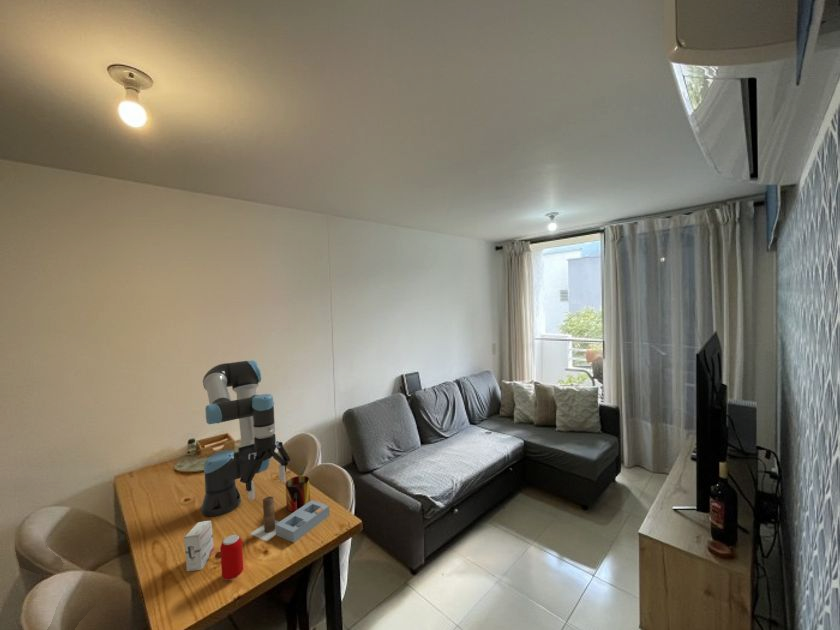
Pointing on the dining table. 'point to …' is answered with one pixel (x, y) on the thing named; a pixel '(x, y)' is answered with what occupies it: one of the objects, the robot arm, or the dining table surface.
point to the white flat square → (262, 535)
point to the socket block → (302, 521)
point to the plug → (268, 514)
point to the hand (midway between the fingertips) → (267, 489)
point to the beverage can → (231, 557)
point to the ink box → (198, 545)
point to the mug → (297, 493)
